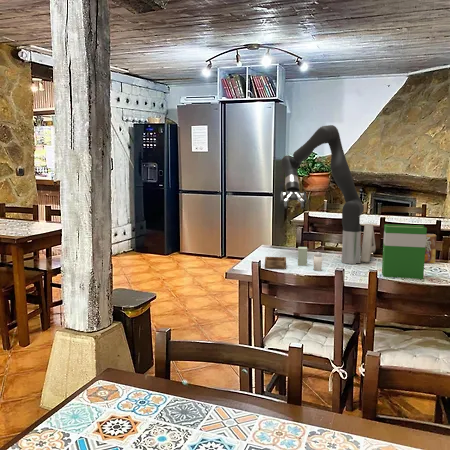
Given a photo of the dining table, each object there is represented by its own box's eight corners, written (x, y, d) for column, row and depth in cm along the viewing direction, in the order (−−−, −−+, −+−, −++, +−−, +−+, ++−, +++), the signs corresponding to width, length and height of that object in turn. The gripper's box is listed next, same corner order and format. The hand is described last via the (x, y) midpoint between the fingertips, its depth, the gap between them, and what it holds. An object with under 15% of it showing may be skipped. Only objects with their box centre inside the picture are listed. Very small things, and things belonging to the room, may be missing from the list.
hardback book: (420, 275, 217) (423, 225, 213) (423, 279, 210) (426, 228, 206) (381, 272, 221) (384, 224, 217) (383, 276, 214) (386, 226, 210)
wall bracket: (371, 281, 264) (368, 261, 239) (364, 281, 266) (360, 261, 241) (375, 247, 273) (373, 224, 248) (368, 247, 274) (364, 224, 250)
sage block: (306, 263, 239) (306, 247, 238) (306, 265, 235) (307, 248, 233) (297, 263, 240) (298, 246, 238) (298, 265, 235) (298, 248, 234)
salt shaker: (321, 268, 228) (321, 251, 227) (322, 270, 224) (322, 252, 223) (313, 268, 229) (313, 251, 227) (313, 270, 225) (314, 252, 223)
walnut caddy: (285, 264, 237) (285, 257, 236) (286, 269, 227) (286, 261, 227) (265, 264, 238) (265, 256, 237) (264, 268, 229) (265, 260, 228)
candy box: (432, 261, 244) (434, 233, 242) (435, 263, 240) (437, 235, 238) (415, 261, 246) (417, 233, 243) (417, 262, 241) (419, 234, 239)
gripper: (280, 180, 253) (282, 203, 243) (305, 180, 253) (308, 204, 244) (278, 188, 259) (280, 211, 250) (303, 189, 259) (306, 212, 250)
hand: (294, 208), depth 247 cm, fingers open, 8 cm apart
